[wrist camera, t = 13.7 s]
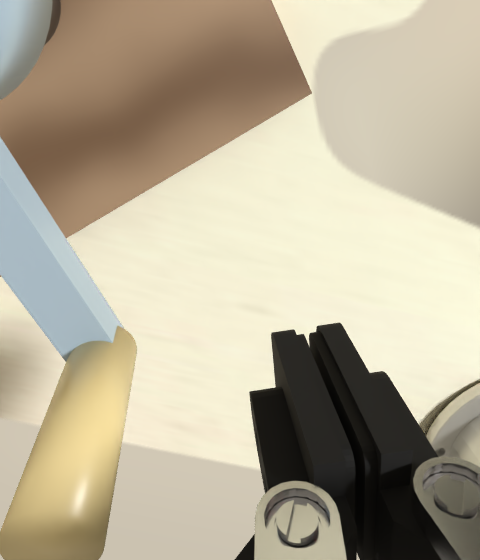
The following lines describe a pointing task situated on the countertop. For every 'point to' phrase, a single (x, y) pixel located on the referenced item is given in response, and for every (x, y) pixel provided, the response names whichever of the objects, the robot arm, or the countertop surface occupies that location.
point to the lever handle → (59, 348)
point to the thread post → (142, 96)
